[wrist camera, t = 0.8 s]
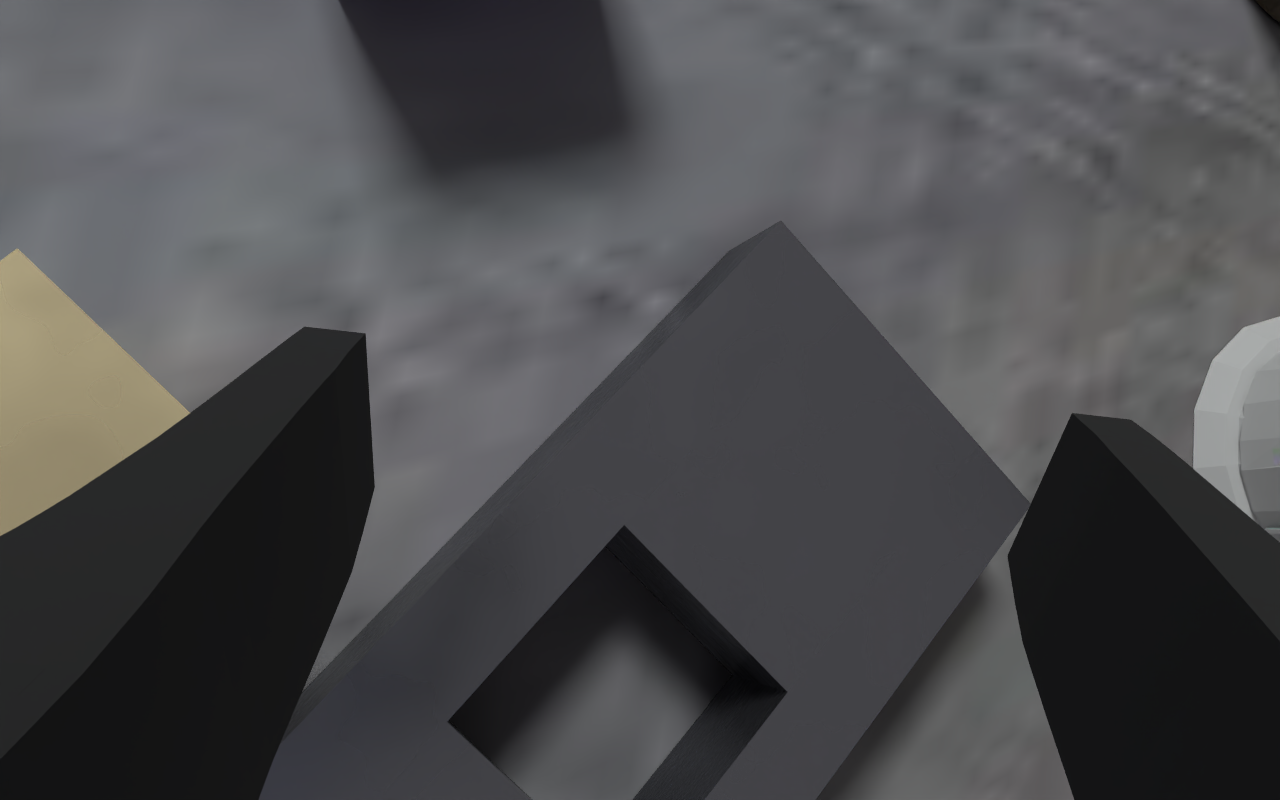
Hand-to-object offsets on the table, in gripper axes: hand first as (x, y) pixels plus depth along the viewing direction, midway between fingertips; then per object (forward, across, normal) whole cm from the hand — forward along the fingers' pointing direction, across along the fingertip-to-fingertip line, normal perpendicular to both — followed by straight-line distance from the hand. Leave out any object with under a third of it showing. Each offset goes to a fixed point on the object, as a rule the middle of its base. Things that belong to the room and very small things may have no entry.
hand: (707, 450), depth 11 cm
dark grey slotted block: (+8, +1, +14) cm, 16 cm away
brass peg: (+8, +12, +9) cm, 17 cm away
